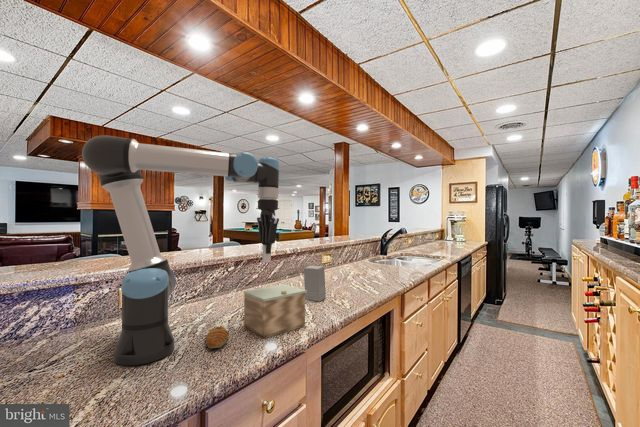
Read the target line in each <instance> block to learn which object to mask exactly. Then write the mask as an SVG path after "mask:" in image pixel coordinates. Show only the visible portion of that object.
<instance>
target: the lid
mask: <svg viewBox="0 0 640 427" xmlns="http://www.w3.org/2000/svg"><path fill="white" fill-rule="evenodd" d="M303 293H307V290H305V289H304V288H300V287H296V286H294V285H293V286H292V285H289V284H286V283H283V284H277V285H271V286H266V287H261V288H256V289H255V288H254V289H249V290H244V291H243V295H244V294H246V295H249V296H251V297H254V298H256V299H258V300H261V301H263V302H265V301H270V300H275V299H279V298H284V297H289V296H294V295H298V294H303Z"/></svg>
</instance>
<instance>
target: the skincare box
mask: <svg viewBox="0 0 640 427" xmlns="http://www.w3.org/2000/svg"><path fill="white" fill-rule="evenodd" d="M303 277H304V278H303V279H304V281H303V282H304V290H307V293H305V301H314V302H321V301H323V300H326V297H327V295H326V294H327V293H326V292H327V291H326V274H325V266H324V265H321V266H319V265H308V266H306V267H303Z"/></svg>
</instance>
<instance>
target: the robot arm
mask: <svg viewBox="0 0 640 427" xmlns="http://www.w3.org/2000/svg"><path fill="white" fill-rule="evenodd" d="M81 156H82V160H83V162H84V164H85V166H86V167H88V169H90V170H91V171H92V172H94V173H96V174H97V177H98V180H99V183H100V186H101V188H102V189H103V190H105V191H108V193H109V195H110V198H111V201H112V205H113V208H114V211H115V215H116V217H117V220H118V224H119V227H120V231H121V234H122V237H123V240H124V243H125V246H126V249H127V252H128V255H129V259H130V262H131V263H130V266H129V267H128V269H127V272H128V273H127V274H124V277H123V279H122V281H121V286H120V290H121V331H120V334H119V336H118V339H117V341H116V345H115V347H114V350H113V361H114V362H115V363H116V364H118V365H122V366H138V365H144V364H149V363H152V362H155V361H158V360H160V359H161V360H162V359H163V358H165V357H167V356H169V355H170V354H171V353H172V352H173V351H174V350H175V338H174V334H173V332H172V329H171V327H170V324H169V298H170V296H171V295H172V293H173V292H174V290H175V288H176V276H175V273H174V272H173V270H172V269H171V266H170V263H169V261H168V258H167V257H166V256H164V255H162V254H161V251H160V248H159V245H158V242H157V239H156V234H155V233H154V232H155V231H154V228H153V225H152V222H151V218H150V215H149V212H148V209H147V206H146V203H145V199H144V195H143V192H142V189H141V186H142V184H143V182H144V179H143V177H144V176H143V175H142V171H153V172H165V173H166V172H167V173H177V174H179V173H180V174H191V175H192V174H193V175H204V176H205V175H206V176H219V177H224V178H225V180H226V181H227V182H233V183H255V184H258V186H257V188H258V189H257V198H258V200H257V209H258V210H259V211H260V217H257V218H256V221H257V224H258V238H259V243H261V245H262V256H261V257H262V258H261V259H262V260H261V262H262V263H265V264H266V263H271V258H272V245H274V244H275V242H276V236H277V229H278V224H279V221H280V218H278V217H277V216H276V211H277V210H279V201H278V200H277V199H279V180H280V179H279V178H280V163H279V160H278V159H277V158H275V157H269V156H268V157H267V156H264V157H260V158H259V159H258V158H256V157H255V155H253V154H252V153H250V152H241V153H234V152H233V153H230V152H222V151H214V150H204V149H194V148H187V147H186V148H184V147H178V146H176V147H175V146H166V145H157V144H149V143H140V142H139V141H137V140H136V139H135V138H126V137H122V136H121V137H120V136H115V135H114V136H113V135H105V134H104V135H96V136H94V137H92V138H90V139H88V140H86V142H85V143H84V145H83V146H82V149H81ZM257 159H258V160H257Z"/></svg>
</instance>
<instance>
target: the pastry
mask: <svg viewBox="0 0 640 427" xmlns="http://www.w3.org/2000/svg"><path fill="white" fill-rule="evenodd" d="M228 340H229V332H228V330H227V329H226V328H225V327H223V326H216V327H213V328H211V329H210V330H209V332H208V333H207V334H206V335H205V343H206V345H207V348H208V349H216V348H222V347H223V346H225V344H227V341H228Z"/></svg>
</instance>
